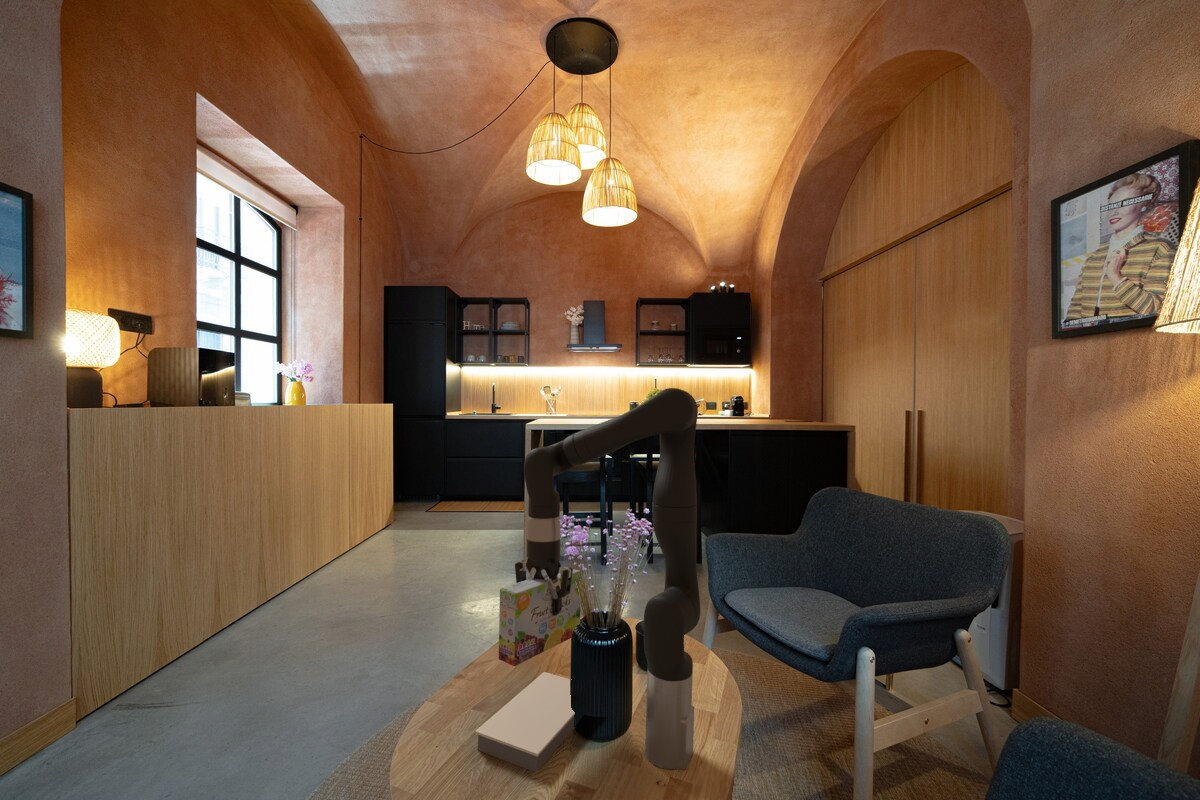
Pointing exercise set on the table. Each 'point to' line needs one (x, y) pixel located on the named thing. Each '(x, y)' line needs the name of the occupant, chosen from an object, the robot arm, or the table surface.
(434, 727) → the table surface
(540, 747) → the display podium
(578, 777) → the table surface
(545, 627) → the snack box
